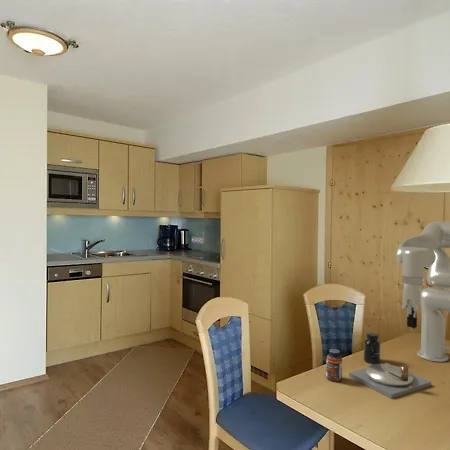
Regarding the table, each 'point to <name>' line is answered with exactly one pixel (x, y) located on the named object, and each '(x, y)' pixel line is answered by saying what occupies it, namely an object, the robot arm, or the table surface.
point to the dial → (389, 374)
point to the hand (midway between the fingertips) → (411, 326)
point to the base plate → (389, 390)
